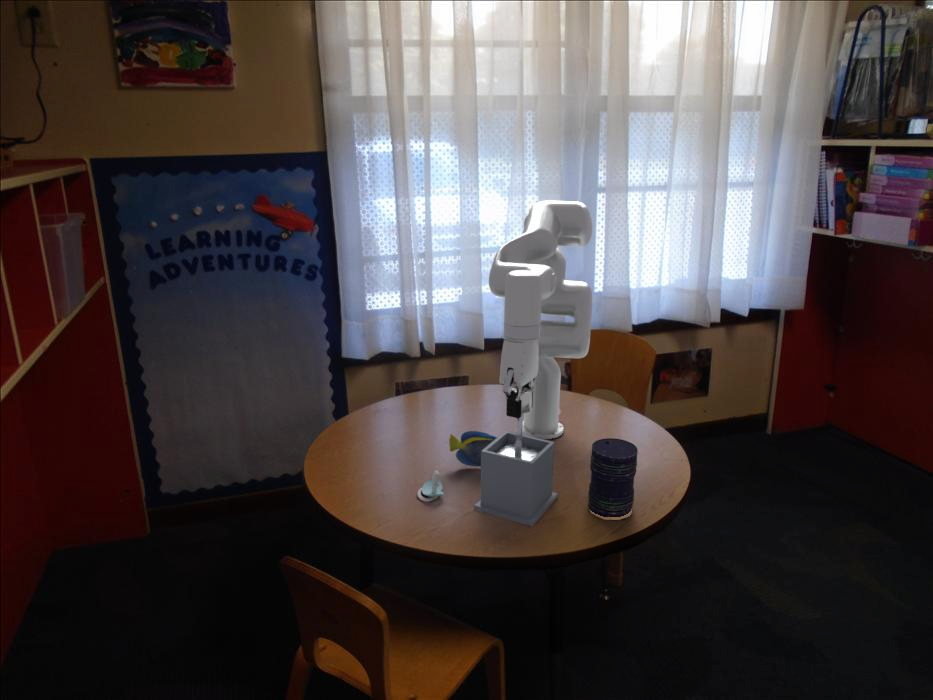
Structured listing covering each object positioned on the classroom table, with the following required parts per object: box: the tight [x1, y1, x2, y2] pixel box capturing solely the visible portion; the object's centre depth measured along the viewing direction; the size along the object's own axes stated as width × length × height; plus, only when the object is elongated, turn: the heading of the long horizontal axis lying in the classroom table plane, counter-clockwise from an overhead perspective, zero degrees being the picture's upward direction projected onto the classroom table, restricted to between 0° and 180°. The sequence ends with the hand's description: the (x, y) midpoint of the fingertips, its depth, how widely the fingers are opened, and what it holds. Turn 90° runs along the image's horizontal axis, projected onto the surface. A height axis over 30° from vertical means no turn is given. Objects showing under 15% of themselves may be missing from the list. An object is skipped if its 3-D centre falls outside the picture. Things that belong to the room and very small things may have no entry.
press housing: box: [473, 430, 559, 528], centre depth 152 cm, size 14×14×14 cm
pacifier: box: [416, 469, 445, 503], centre depth 157 cm, size 7×6×6 cm
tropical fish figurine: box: [448, 430, 498, 467], centre depth 169 cm, size 16×3×10 cm, turn 86°
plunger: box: [497, 387, 541, 461], centre depth 148 cm, size 9×9×16 cm
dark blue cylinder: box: [587, 437, 639, 517], centre depth 150 cm, size 10×10×15 cm
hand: (519, 411), depth 147 cm, fingers closed on plunger, 5 cm apart
